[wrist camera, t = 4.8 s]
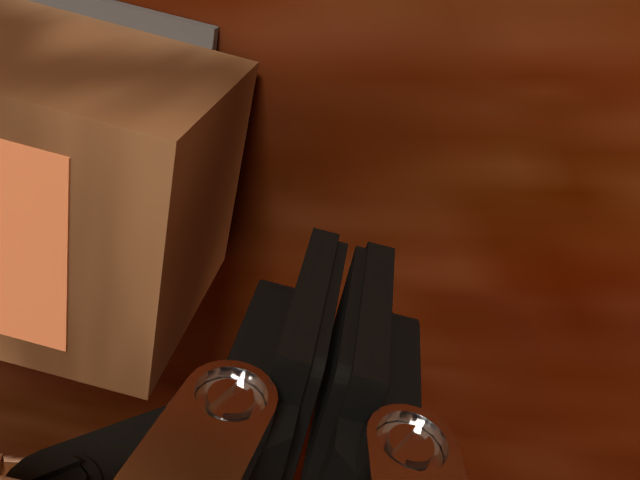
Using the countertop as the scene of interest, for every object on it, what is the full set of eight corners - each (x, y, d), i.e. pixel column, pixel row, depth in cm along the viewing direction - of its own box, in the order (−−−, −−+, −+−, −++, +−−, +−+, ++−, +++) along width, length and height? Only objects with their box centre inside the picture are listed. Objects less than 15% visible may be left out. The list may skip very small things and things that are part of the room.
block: (175, 142, 10) (-293, 17, 10) (146, 401, 13) (-214, 303, 13) (258, 62, 15) (-47, -20, 15) (224, 259, 18) (-31, 189, 18)
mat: (219, 26, 15) (214, 29, 15) (190, 256, 19) (186, 262, 18) (-159, -69, 15) (-173, -69, 15) (-118, 176, 19) (-128, 181, 18)
